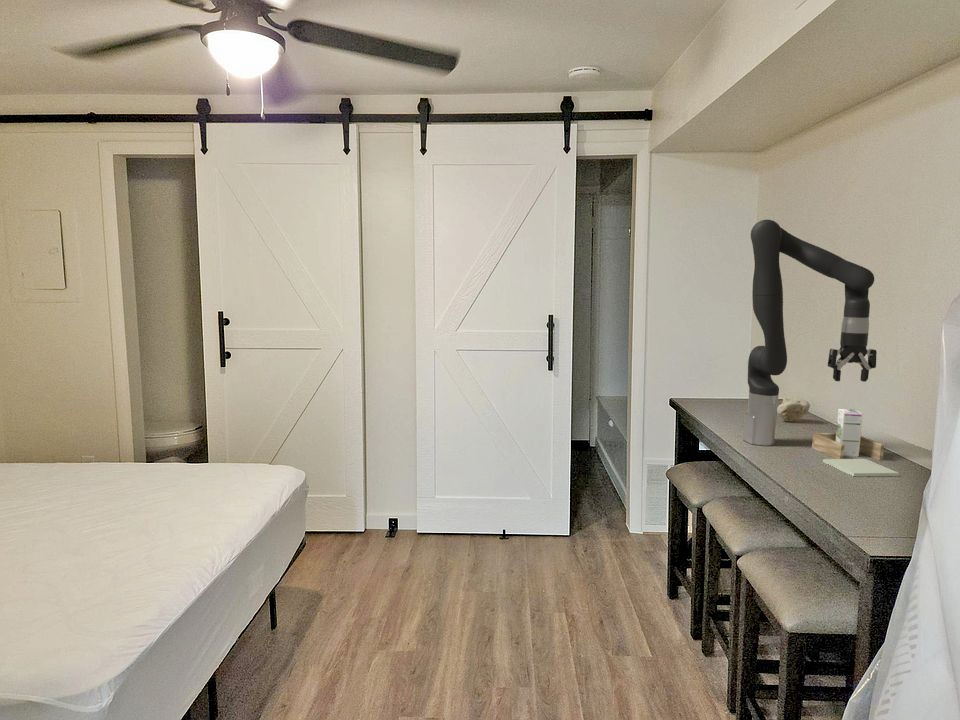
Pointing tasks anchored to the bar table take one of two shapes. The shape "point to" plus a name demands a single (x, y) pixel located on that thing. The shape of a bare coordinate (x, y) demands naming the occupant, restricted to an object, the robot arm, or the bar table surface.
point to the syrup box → (849, 431)
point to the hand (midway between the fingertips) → (850, 381)
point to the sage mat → (860, 467)
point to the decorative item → (793, 409)
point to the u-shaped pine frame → (836, 449)
